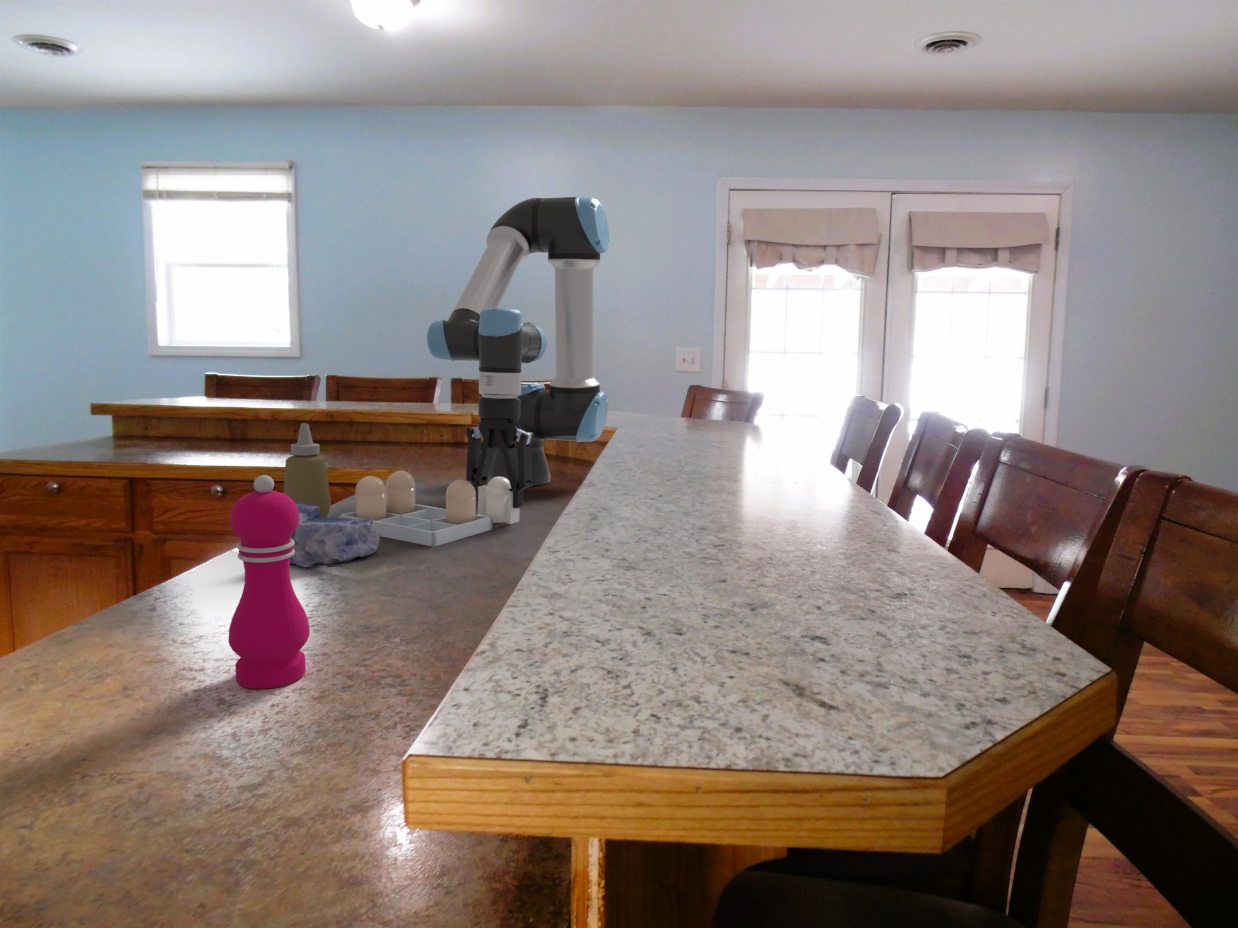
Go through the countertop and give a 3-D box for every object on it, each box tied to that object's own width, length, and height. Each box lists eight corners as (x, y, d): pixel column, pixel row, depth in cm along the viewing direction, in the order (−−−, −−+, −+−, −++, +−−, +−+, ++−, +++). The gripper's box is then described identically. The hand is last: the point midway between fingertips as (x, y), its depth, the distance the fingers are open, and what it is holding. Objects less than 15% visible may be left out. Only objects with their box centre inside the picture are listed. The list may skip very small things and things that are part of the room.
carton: (401, 517, 148) (400, 501, 147) (492, 533, 137) (492, 516, 137) (338, 532, 135) (338, 514, 135) (434, 551, 125) (433, 532, 124)
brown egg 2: (401, 515, 146) (400, 468, 145) (421, 518, 144) (421, 470, 142) (380, 519, 142) (379, 471, 140) (401, 523, 139) (400, 474, 138)
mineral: (265, 509, 110) (291, 491, 120) (261, 573, 112) (288, 550, 122) (369, 522, 111) (387, 504, 121) (364, 585, 113) (382, 562, 123)
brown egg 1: (372, 521, 140) (371, 473, 139) (392, 525, 137) (392, 476, 136) (349, 527, 136) (348, 476, 134) (370, 531, 133) (369, 479, 132)
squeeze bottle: (315, 532, 135) (312, 427, 132) (272, 528, 136) (268, 424, 134) (340, 522, 143) (338, 422, 140) (300, 519, 144) (297, 420, 141)
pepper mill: (224, 671, 78) (214, 472, 75) (300, 656, 83) (294, 467, 80) (238, 698, 73) (228, 484, 70) (319, 681, 77) (313, 478, 74)
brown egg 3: (459, 525, 139) (459, 476, 138) (481, 529, 137) (481, 479, 135) (439, 530, 135) (439, 480, 134) (462, 535, 132) (462, 483, 131)
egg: (496, 519, 148) (497, 473, 147) (518, 523, 146) (518, 476, 145) (479, 524, 144) (479, 476, 143) (501, 528, 142) (501, 479, 140)
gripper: (445, 394, 143) (445, 519, 146) (530, 400, 134) (528, 533, 137) (472, 392, 149) (471, 512, 152) (555, 398, 140) (552, 526, 143)
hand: (498, 522), depth 145 cm, fingers open, 6 cm apart
